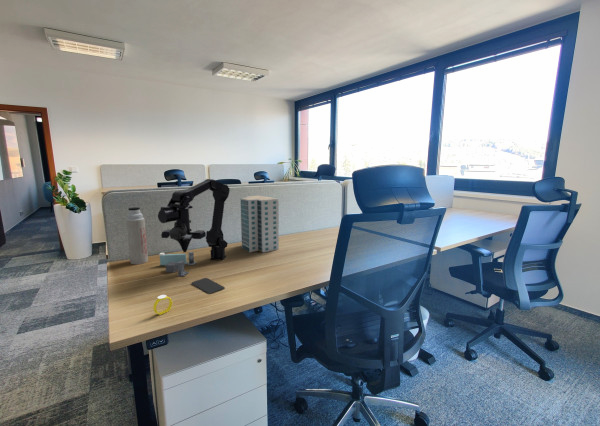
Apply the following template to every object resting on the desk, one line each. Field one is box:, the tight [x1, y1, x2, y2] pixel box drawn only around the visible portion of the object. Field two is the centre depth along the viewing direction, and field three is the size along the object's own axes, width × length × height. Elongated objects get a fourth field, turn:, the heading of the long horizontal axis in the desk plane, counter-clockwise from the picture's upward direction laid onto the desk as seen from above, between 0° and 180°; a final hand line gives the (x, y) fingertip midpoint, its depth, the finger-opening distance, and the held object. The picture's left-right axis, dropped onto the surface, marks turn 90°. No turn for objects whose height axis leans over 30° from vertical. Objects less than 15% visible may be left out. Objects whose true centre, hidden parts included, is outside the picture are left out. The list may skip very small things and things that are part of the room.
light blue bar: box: [159, 252, 188, 266], centre depth 141 cm, size 2×12×6 cm, turn 99°
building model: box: [239, 195, 280, 253], centre depth 169 cm, size 20×16×30 cm
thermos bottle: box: [125, 206, 149, 265], centre depth 144 cm, size 8×8×28 cm
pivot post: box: [186, 251, 197, 266], centre depth 143 cm, size 4×4×6 cm
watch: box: [152, 294, 173, 316], centre depth 96 cm, size 6×3×6 cm, turn 146°
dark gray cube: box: [164, 262, 178, 273], centre depth 134 cm, size 4×4×4 cm
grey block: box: [176, 261, 189, 277], centre depth 129 cm, size 3×4×6 cm
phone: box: [191, 277, 226, 295], centre depth 118 cm, size 7×1×15 cm
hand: (184, 252), depth 132 cm, fingers closed
